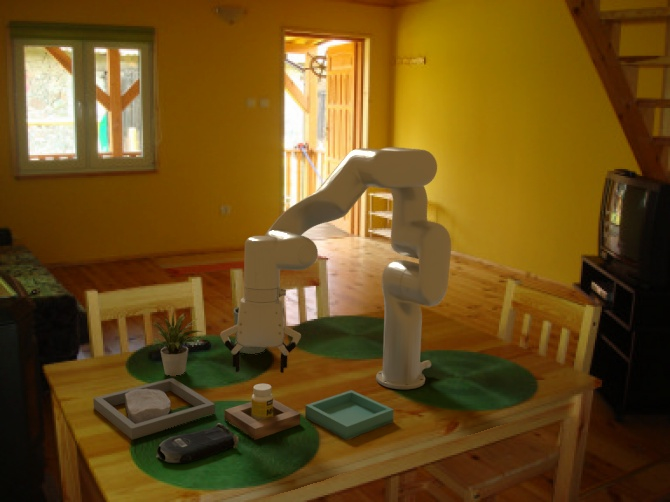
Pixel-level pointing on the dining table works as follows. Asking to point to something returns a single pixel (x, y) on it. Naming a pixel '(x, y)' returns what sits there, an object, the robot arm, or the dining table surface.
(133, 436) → the gray rectangular frame
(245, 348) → the gray cup
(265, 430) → the square wooden frame
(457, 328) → the dining table surface
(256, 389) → the supplement bottle
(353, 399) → the tray
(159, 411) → the stone block
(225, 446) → the electronic device
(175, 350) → the house plant
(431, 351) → the dining table surface
